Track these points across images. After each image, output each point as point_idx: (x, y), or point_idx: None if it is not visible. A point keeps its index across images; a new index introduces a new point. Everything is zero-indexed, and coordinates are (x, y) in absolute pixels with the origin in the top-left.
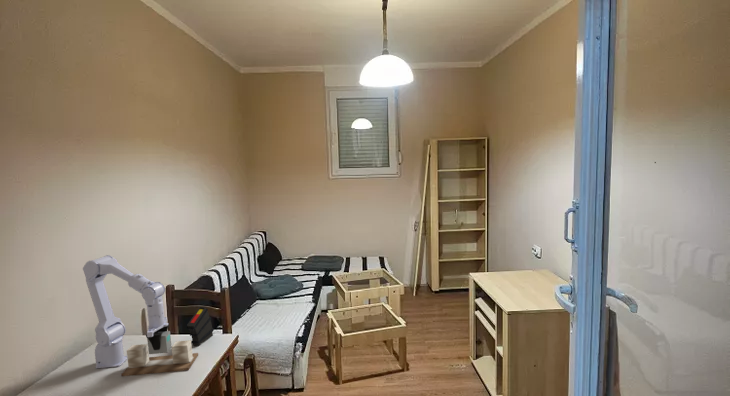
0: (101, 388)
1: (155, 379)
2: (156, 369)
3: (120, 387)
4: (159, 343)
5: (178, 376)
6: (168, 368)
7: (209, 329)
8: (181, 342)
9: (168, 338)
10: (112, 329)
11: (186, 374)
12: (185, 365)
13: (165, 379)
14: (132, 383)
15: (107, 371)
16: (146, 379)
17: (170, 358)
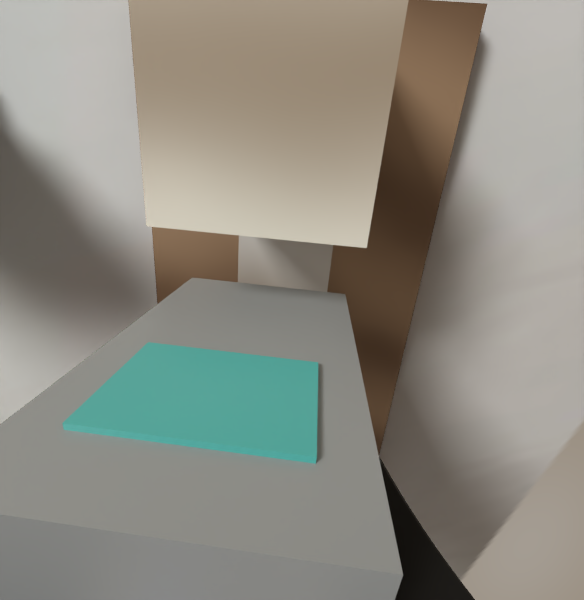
0: (468, 556)
1: (512, 303)
2: (389, 334)
3: (511, 482)
4: (401, 498)
5: (566, 104)
6: (410, 238)
7: None
8: (210, 73)
9: (221, 384)
10: None
11: (567, 16)
12: (412, 64)
13: (559, 221)
14: (492, 434)
15: None
16: (477, 366)
17: (215, 270)
